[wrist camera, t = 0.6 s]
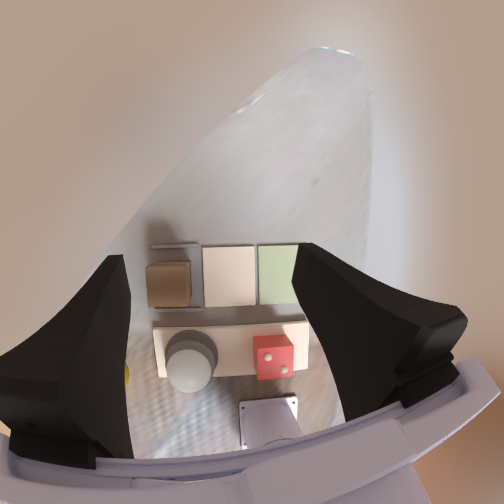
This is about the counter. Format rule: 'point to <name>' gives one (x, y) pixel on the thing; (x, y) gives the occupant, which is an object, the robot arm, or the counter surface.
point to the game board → (239, 294)
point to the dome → (189, 365)
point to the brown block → (169, 284)
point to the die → (273, 357)
